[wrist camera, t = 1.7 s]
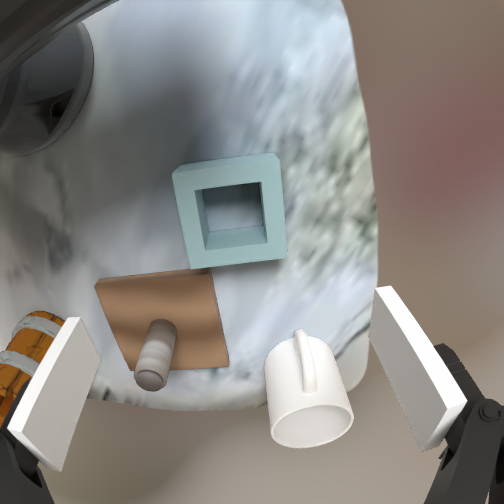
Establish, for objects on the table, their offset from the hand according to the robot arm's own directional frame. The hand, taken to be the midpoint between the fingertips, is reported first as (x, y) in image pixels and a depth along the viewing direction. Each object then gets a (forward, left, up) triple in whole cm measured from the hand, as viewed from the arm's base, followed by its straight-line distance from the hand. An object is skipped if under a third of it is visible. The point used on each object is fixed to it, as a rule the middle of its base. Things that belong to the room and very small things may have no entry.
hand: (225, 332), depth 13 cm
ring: (-1, 0, -17) cm, 17 cm away
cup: (+17, +5, -17) cm, 25 cm away
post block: (+11, -9, -17) cm, 22 cm away
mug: (+15, -28, -17) cm, 36 cm away
